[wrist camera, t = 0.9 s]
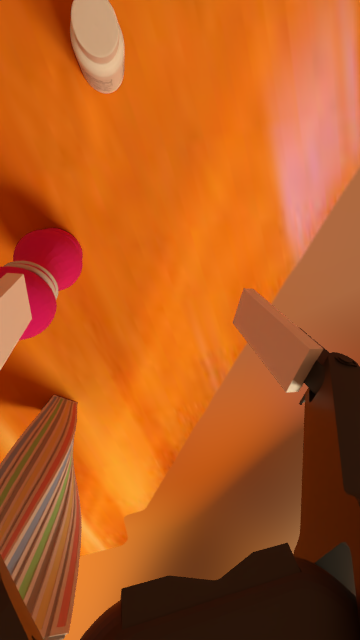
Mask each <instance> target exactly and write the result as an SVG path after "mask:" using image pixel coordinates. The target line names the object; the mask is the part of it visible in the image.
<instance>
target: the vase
mask: <svg viewBox="0 0 360 640" xmlns="http://www.w3.org/2000/svg"><path fill="white" fill-rule="evenodd" d="M77 404H78V403H77V402H74V401H71V400H68V399H65V398H62V397H59V396H56V395H53V396H52V398H51V399H50V400H49V401H48V403H47V404H46V405H45V406H44V407H43V409H42V410H41V412H40V413H39V414H38V416H37V417H36V418H35V419H34V420H33V422H32V423H31V424H30V425H29V426H28V428H27V429H26V430H25V431H24V433H23V434H22V435H21V437H20V438H19V439H18V440H17V442H16V443H15V444H14V446H13V447H12V448H11V450H10V451H9V453H8V454H7V455H6V457H5V458H4V460H3V461H2V463H1V464H0V554H1V556H2V558H3V560H4V562H5V565H6V567H7V569H8V571H9V573H10V575H11V577H12V579H13V581H14V583H15V585H16V587H17V589H18V591H19V593H20V595H21V597H22V599H23V601H24V603H25V605H26V607H27V609H28V611H29V613H30V615H31V617H32V618H33V620H34V622H35V624H36V626H37V628H38V630H39V631H40V633H41V635H42V637H43V639H44V640H62V639H64V637H65V635H66V634H68V633H69V628H70V623H71V617H72V611H73V604H74V597H75V590H76V583H77V576H78V567H79V557H80V546H81V510H80V500H79V494H78V488H77V482H76V477H75V472H74V464H73V442H74V434H75V429H76V423H77Z"/></svg>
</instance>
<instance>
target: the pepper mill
mask: <svg viewBox="0 0 360 640" xmlns="http://www.w3.org/2000/svg"><path fill="white" fill-rule="evenodd" d="M13 261H14V262H10V263H8V264H6V265H4V266H3V267H0V279H1V278H2V277H3V276H4V275H5V274H6V273H16V274H24V278H25V283H26V289H27V294H28V299H29V305H30V310H31V316H32V319H31V321H30V323H29V324H28V326H27V328H26V329H25V331H24V332H23V334H22V336H21V337H20V339H19V340H22V339H27V338H31V337H33V336H35V335H37V334H39V333H41V332H42V331H43V330H45V329H46V328H47V327H48V326H49V324H50V323H51V321H52V320H53V318H54V315H55V312H56V306H57V305H56V299H57V296H58V291H60V290H63V289H66V288H68V287H69V286H71V285H72V284H73V283H74V282H75V281H76V280H77V279H78V277H79V276H80V273H81V270H82V249H81V246H80V244H79V243H78V241H77V240H76V239H75V237H74V236H72V235H71V234H70V233H68V232H66V231H64V230H62V229H58V228H47V229H44V230H36V231H32V232H30V233H28V234H26V235H25V236H24V237H23V238H22V239H21V240H20V241H19V242H18V243H17V245H16V247H15V251H14V255H13Z"/></svg>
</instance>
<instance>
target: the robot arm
mask: <svg viewBox="0 0 360 640" xmlns="http://www.w3.org/2000/svg"><path fill="white" fill-rule="evenodd" d="M31 319H32V316H31V310H30V305H29V299H28V294H27V289H26V283H25V278H24V274H16V273H6V274H5V275H4V276H3V277H2V278H1V279H0V370H1V368H2V367H3V365H4V364H5V362H6V360H7V359H8V357H9V355H10V354H11V352H12V350H13V349H14V347H15V346H16V344H17V342H18V341H19V339H20V337H21V336H22V334H23V332H24V331H25V329H26V328H27V326H28V324H29V323H30V321H31ZM233 324H234V325H235V326H236V328H237V329H238V330H239V332H240V333H241V334H242V336H243V337H244V338H245V339H246V341H247V342H248V343H249V345H250V346H251V347H252V349H253V350H254V351H255V353H256V354H257V355H258V356H259V357H260V359H261V360H262V362H263V363H264V364H265V366H266V367H267V368H268V370H269V371H270V372H271V373H272V375H273V376H274V377H275V379H276V380H277V381H278V383H279V384H280V385H281V387H282V388H283V389H284V390H285V392H298V391H299V390H300V388H301V387H302V385H303V383H305V384H306V385H307V386H308V387H309V388H308V389H307V391H306V393H305V394H304V396H303V398H302V399H301V401H300V403H299V404H300V405H302V403H303V402H305V418H304V443H303V471H302V498H301V526H300V536H299V540H298V542H297V545H296V548H295V550H294V554H293V553H292V551H291V549H290V547H289V545H288V543H285V544H281V545H278V546H274V547H270V548H267V549H263V550H259V551H256V552H253V553H251V554H250V555H249V556H248V557H247V558H245V559H244V560H243V561H242V562H240V563H239V564H238V565H237V566H235V567H234V568H233V569H232V570H230V571H229V572H228V573H227V574H225V575H224V576H223V577H222V578H220V579H219V580H204V579H195V578H186V577H177V576H166V577H162V578H159V579H155V580H151V581H148V582H144V583H141V584H137V585H133V586H130V587H127V588H123V589H122V591H121V600H120V601H118V602H117V603H116V604H114V605H113V606H112V607H110V608H109V609H108V610H106V611H105V612H104V613H103V614H102V615H101V616H100V617H99V618H98V619H97V620H96V621H95V622H94V623H93V624H92V625H91V627H90V628H89V629H88V630H87V631H86V632H85V633H84V635H83V636H82V638H81V639H80V640H360V367H359V365H358V364H357V363H356V362H355V361H354V360H353V359H351V358H349V357H348V356H345V355H343V354H340V353H335V352H332V353H329V352H328V351H327V350H325V349H324V348H323V347H322V346H321V345H319V344H318V343H317V342H316V341H315V340H313V339H312V338H311V337H310V336H309V335H307V333H305V332H304V331H303V330H302V329H301V328H299V327H297V326H296V325H295V324H294V323H293V322H291V321H290V320H289V319H288V318H287V317H285V316H284V315H283V314H282V313H281V312H280V311H278V310H277V309H276V308H275V307H274V306H273V305H271V304H270V303H269V302H268V301H267V300H266V299H264V298H263V297H262V296H261V295H260V294H259V293H257V292H256V291H255V290H254V289H243V292H242V295H241V298H240V301H239V305H238V308H237V311H236V314H235V317H234V320H233ZM0 640H44V639H43V637H42V635H41V633H40V631H39V630H38V628H37V626H36V624H35V622H34V620H33V618H32V617H31V615H30V613H29V611H28V609H27V607H26V605H25V603H24V601H23V599H22V597H21V595H20V593H19V591H18V589H17V587H16V585H15V583H14V581H13V579H12V577H11V575H10V573H9V571H8V569H7V567H6V565H5V562H4V560H3V558H2V556H1V554H0Z"/></svg>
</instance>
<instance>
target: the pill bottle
mask: <svg viewBox="0 0 360 640" xmlns="http://www.w3.org/2000/svg"><path fill="white" fill-rule="evenodd" d="M70 37H71V43H72V47H73V50H74V53H75V55H76V58H77V60H78V63H79V65H80V68H81V71H82V73H83V75H84V77H85V79H86V80H87V82H88V83H89V84H90V85H91V86H92V87H93V88H94V89H95V90H97V91H99V92H101V93H112V92H114V91H115V90H117V89H118V88H119V86H120V85H121V83H122V80H123V76H124V39H123V35H122V31H121V29H120V26H119V24H118V21H117V17H116V14H115V12H114V10H113V7H112V6H111V4H110V2H109V1H108V0H73V3H72V7H71V22H70Z"/></svg>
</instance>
